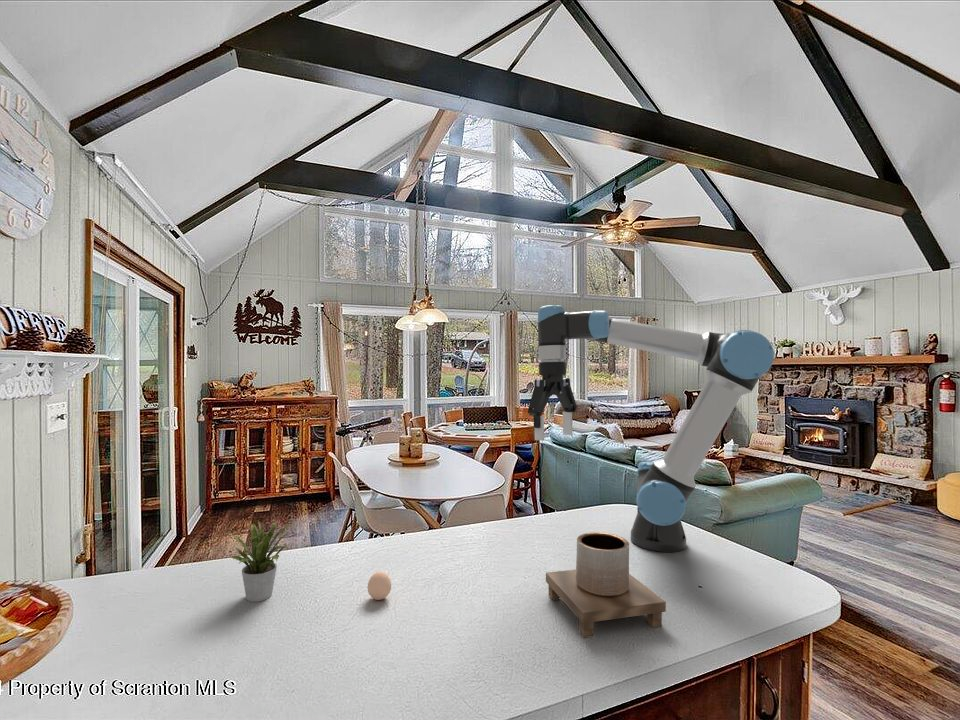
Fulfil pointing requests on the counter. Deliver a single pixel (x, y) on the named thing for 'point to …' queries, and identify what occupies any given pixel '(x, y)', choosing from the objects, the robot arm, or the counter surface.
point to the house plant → (259, 563)
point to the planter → (602, 564)
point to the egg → (379, 585)
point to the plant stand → (605, 601)
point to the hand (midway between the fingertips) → (554, 437)
